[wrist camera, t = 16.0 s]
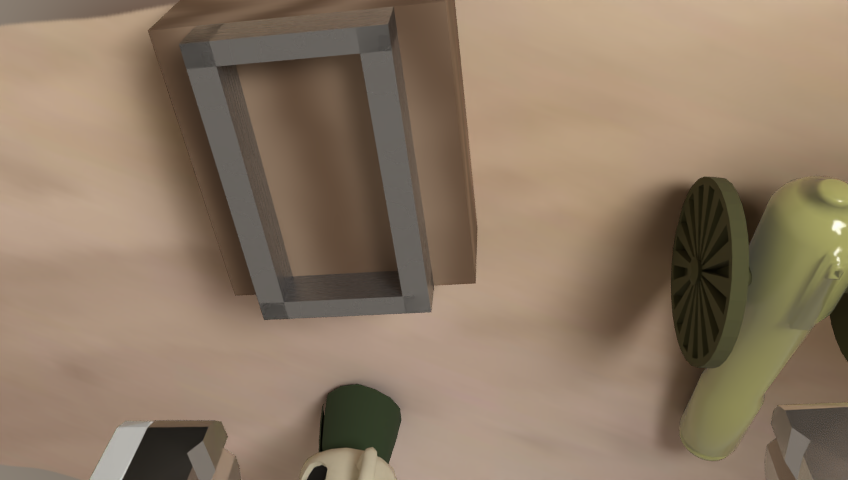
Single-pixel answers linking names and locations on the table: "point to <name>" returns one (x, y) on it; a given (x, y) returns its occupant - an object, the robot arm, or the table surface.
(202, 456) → the robot arm
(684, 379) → the table surface
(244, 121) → the hinge cabinet
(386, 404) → the character mug
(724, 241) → the cannon
